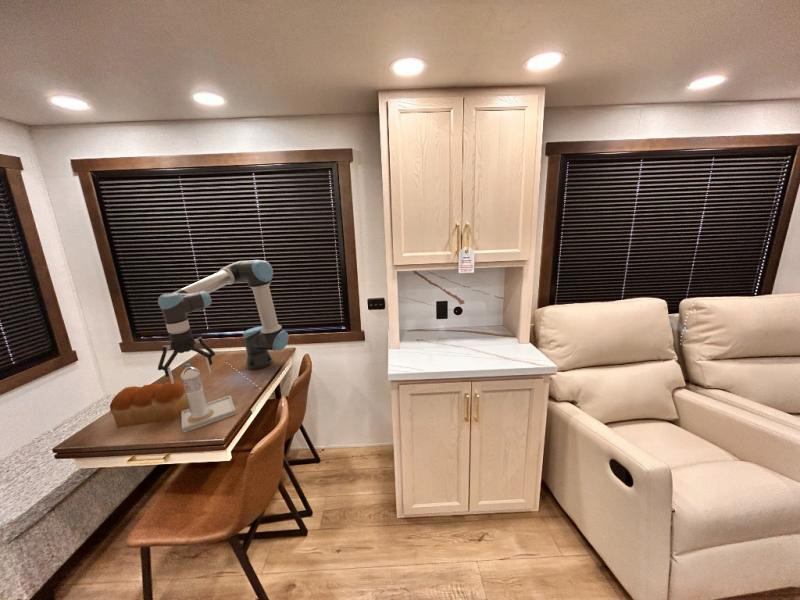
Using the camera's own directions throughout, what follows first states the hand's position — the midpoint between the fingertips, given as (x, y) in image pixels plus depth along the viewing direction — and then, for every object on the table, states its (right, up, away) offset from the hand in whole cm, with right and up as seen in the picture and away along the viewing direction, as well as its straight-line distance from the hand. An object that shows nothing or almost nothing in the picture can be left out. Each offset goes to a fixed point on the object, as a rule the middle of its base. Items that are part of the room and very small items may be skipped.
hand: (192, 377), depth 131 cm
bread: (-23, -20, +9) cm, 32 cm away
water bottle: (+1, -18, +4) cm, 19 cm away
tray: (+3, -19, +7) cm, 20 cm away
